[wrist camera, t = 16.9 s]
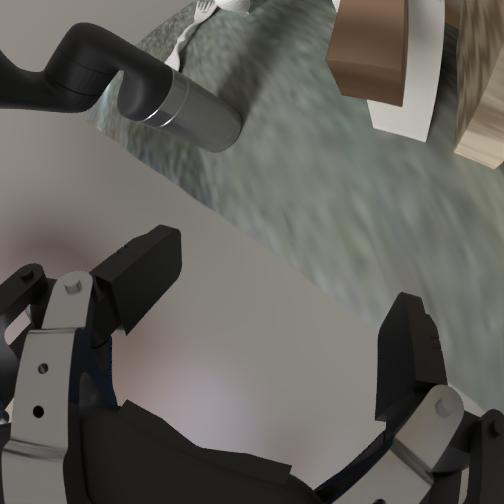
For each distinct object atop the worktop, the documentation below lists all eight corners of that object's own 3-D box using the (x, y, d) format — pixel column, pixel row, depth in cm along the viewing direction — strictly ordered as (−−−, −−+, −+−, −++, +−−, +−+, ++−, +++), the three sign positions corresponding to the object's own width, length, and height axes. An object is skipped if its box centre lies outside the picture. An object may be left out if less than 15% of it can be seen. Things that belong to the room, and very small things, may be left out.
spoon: (228, 2, 46) (221, -5, 43) (169, 99, 53) (159, 93, 50) (204, 6, 50) (197, -1, 47) (149, 96, 57) (139, 92, 54)
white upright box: (425, 142, 30) (444, -14, 6) (373, 127, 33) (318, -28, 9) (431, 45, 26) (416, -88, 2) (387, 35, 30) (344, -94, 6)
